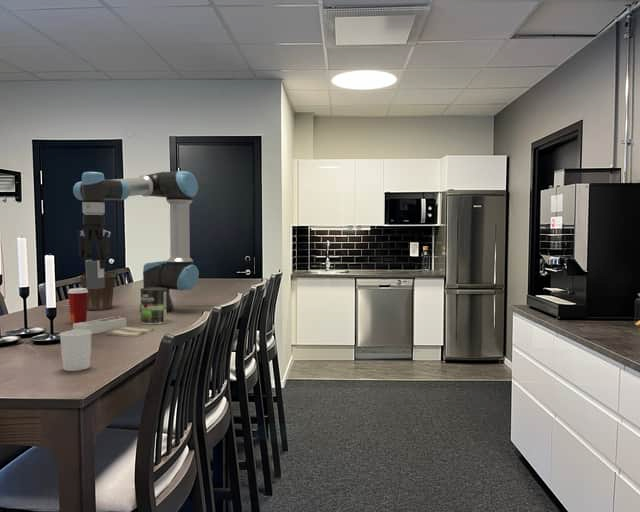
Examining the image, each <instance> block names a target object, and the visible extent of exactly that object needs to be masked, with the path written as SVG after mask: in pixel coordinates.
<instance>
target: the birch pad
mask: <svg viewBox="0 0 640 512" xmlns="http://www.w3.org/2000/svg"><path fill="white" fill-rule="evenodd" d="M154 329H155V328H154V327H135V326H126V327H124V328H120V329H116V330H111V331H106V332H105V336H113V337H115V336H116V337H128V338H129V337H132V338H136V337H139V336H141V335H145V334H148V333H150V332H153V331H154Z"/></svg>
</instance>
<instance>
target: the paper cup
mask: <svg viewBox="0 0 640 512" xmlns="http://www.w3.org/2000/svg"><path fill="white" fill-rule="evenodd" d="M87 293H88V291H87V288H82V287H77V288H76V287H74V288H70V289H68V291H67V294H68V303H69V315H70V324H71V325H73V324H75V323H81V322H87V316H88V315H87V314H88V313H87V312H88V310H87Z"/></svg>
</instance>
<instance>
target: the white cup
mask: <svg viewBox="0 0 640 512" xmlns="http://www.w3.org/2000/svg"><path fill="white" fill-rule="evenodd" d="M59 336H60V340H59V341H60V351H61V360H62V366H63V367H62V369H63V371H66V372H79V371H82V370H86V369H89V368H90V367H91V355H92V334H91V331H90V330H73V329H71V330H66V331H62V332H60V333H59Z"/></svg>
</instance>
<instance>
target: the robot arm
mask: <svg viewBox="0 0 640 512" xmlns="http://www.w3.org/2000/svg"><path fill="white" fill-rule="evenodd" d="M198 191H199V184H198V181H197V178H196V177H195V176H194V173H191V172H190V171H187V170H176V171H175V170H174V171H160V172H155V173H154V172H153V173H150V174H143V175H142V174H141V175H140V176H138V177H133V178H130V177H129V178H116V179H107V178H106V179H105V174H104V173H103V172H98V171H85V172H83V173H82V175H81V181H78V182H76V183H75V184H74V186H73V187H72V193H73V195H74V197H75V198H76V199H77V200H80V201H81V202H82V206H81V207H82V214H83V215H82V225H83V228H82V230H80V231H76V236H77V240H78V241H77V243H78V258H79V259H83V261H84V265H83V267H84V269H86V262H88V261H93V258H92V250H93V244H94V243H95V246H96V251H97V255H98V258H97V260H96V261H97V278H103V277H104V269H106V260H107V259H110V258H111V237H112V235H113V234H112V231H108V230H106V228H105V225H106V219H105V218H106V216H105V215H104V214H106V211H105V209H106V208H105V207H106V206H105V201H111V200H113V201H125V200H126V199H128V198H129V197H133V196H142V197H146V198H147V197H157V198H165V201H166V202H167V203H168V204H169V239H170V242H169V247H170V250H169V252H170V254H169V255H170V257H169V258H168V259H167V260H164V261H161V260H160V261H153V262H146V263H144V265H143V267H142V268H143V269H142V282H143V288H149V287H162V288H167V290H166V313H169V312H173V311H174V310H175V309H174V303H173V300H172V298H171V293H170V291H171V290H176V291H188V290H189V291H190V290H192V289H193V288H194V287H195V286H196V285H197V283H198V281H199V275H200V273H199V272H200V271H199V269H198V267H197V266H196V265H194V260H193V259H192V258H191V257H190V256H191V255H190V253H191V252H190V251H191V250H190V249H191V248H190V247H191V246H190V241H191V240H190V238H191V237H190V236H191V235H190V205H191V204H192V202H193V200H194V199H193V197H195V196H197V193H198ZM139 312H140V313H141V304H140V306H139Z"/></svg>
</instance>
